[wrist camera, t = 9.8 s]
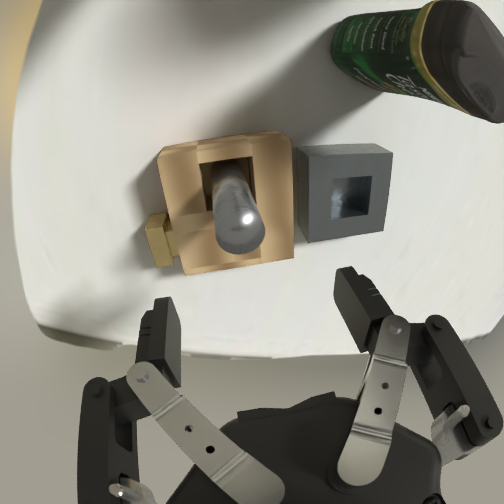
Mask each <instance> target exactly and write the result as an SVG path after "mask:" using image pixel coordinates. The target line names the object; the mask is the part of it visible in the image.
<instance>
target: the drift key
mask: <svg viewBox="0 0 504 504" xmlns="http://www.w3.org/2000/svg"><path fill="white" fill-rule="evenodd" d="M145 233H146V236H147V240H148V243H149V246H150V249H151V252H152V255H153V258H154V261H155V264H156V267H157V268H159V267H165V266H172V265H174V256H179V251H178V248H177V244H176V240H175V236H174V232H173V228H172V225H171V221H170V219H167V215H166V212H165V213H160V214H154V215H149V218H148V221H147V224H146V227H145Z"/></svg>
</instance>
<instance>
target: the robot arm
mask: <svg viewBox="0 0 504 504" xmlns="http://www.w3.org/2000/svg"><path fill="white" fill-rule="evenodd" d="M334 300H335V303H336V305H337V307H338V309H339V311H340V313H341V315H342V317H343V319H344V321H345V323H346V325H347V327H348V329H349V331H350V333H351V335H352V337H353V339H354V341H355V343H356V345H357V347H358V349H359V351H360V353H363V352H366V351H368V352H369V354H370V357H369V360H368V363H367V367H366V370H365V373H364V377H363V380H362V383H361V386H360V389H359V391H358V394H357V396H356V399H355V400H354V399H351V398H346V397H336V396H335V393H334V392H329V393H326V394H322V395H318V396H314V397H311V398H309V399H307V400H305V401H303V402H301V403H299V404H297V405H295V406H292V407H290V408H286V409H281V408H258V409H252V410H246V411H239V412H237V415H238V418H236V419H234V420H232V421H230V422H228V423H226V424H225V425H224V426H222V427H221V428H220V429H218V428H217V427H215V426H214V425H213V424H212V423H211V422H210V421H209V420H208V419H207V418H206V417H205V416H204V415H203V414H202V413H201V412H200V411H199V410H197V409H196V408H195V407H194V406H193V405H192V404H191V403H190V402H189V401H188V400H187V399H186V398H185V397H184V396H183V395H180V394H179V393H178V392H177V391H176V390H175V388H178V387H181V325H180V320H179V317H178V314H177V312H176V309H175V306H174V303H173V301H172V298H171V297H164V298H157V299H155V301H154V308H153V310H149V311H146V313H145V314H144V316H143V317H142V319H141V325H140V331H139V338H138V345H137V353H136V360H135V364H134V365H133V366H132V367H131V368H130V369H129V370H128V372H127V375H126V376H124V377H122V378H119V379H117V380H113V381H111V382H108V381H107V380H106V379H105V378H102V377H96V378H93V379H91V380H90V381H88V383H87V384H86V385H85V387H84V390H83V397H82V405H81V414H80V425H79V438H78V461H77V493H78V504H157V503H156V502H155V499H154V496H153V494H152V491H151V490H150V489H149V488H148V487H147V486H145V485H144V484H141V483H140V481H139V468H138V453H137V424H136V422H137V420H139V419H142V418H144V417H147V416H150V415H152V416H153V417H154V419H155V420H156V421H157V422H158V424H159V425H160V426H161V427H162V428H163V430H164V431H165V432H166V433H167V434H168V435H169V436H170V438H171V439H172V440H173V441H174V442H175V443H176V444H177V445H178V446H179V447H180V448H181V450H182V451H183V452H184V453H185V454H186V455H187V456H188V457H189V458H190V459H191V460H192V461H193V462H194V463H195V464H194V465H193V467H192V468H191V470H190V471H189V472H188V474H187V475H186V477H185V478H184V479H183V481H182V482H181V483H180V485H179V486H178V488H177V489H176V490H175V492H174V493H173V494H172V496H171V497H170V498H169V500H168V501H167V503H166V504H446V503H445V501H444V500H443V498H442V495H441V489H440V475H441V467H442V466H444V465H446V464H448V463H449V462H451V461H453V460H460V459H463V458H464V457H466V456H468V455H469V454H471V453H473V452H474V451H476V450H477V449H479V448H480V447H482V446H483V445H485V444H486V443H488V442H489V441H491V440H492V439H494V438H495V437H496V436H498V435H499V434H500V432H501V430H502V428H503V418H502V415H501V413H500V411H499V409H498V407H497V405H496V403H495V401H494V399H493V397H492V395H491V393H490V391H489V389H488V387H487V385H486V383H485V381H484V379H483V378H482V376H481V374H480V372H479V370H478V369H477V367H476V365H475V364H474V362H473V360H472V358H471V357H470V355H469V353H468V352H467V350H466V348H465V347H464V345H463V343H462V342H461V340H460V339H459V337H458V335H457V334H456V332H455V331H454V329H453V328H452V326H451V325H450V323H449V322H448V320H447V319H446V318H444V317H442V316H440V315H431V316H429V317H428V318H427V319H426V321H425V323H408V321H407V320H406V319H405V318H403V317H401V316H398V315H394V313H393V312H392V310H391V309H390V307H389V306H388V304H387V303H386V301H385V300H384V298H383V297H382V295H381V294H380V292H379V291H378V289H376V287H375V285H374V284H373V282H372V281H371V280H370V279H369V278H367V277H366V276H364V275H363V274H362V275H358V274H357V272H356V271H355V269H354V268H353V267H352V266H350V267H345V268H339V269H337V270H336V276H335V284H334ZM407 366H410V367H411V369H412V371H413V373H414V375H415V378H416V380H417V382H418V384H419V386H420V388H421V391H422V393H423V395H424V397H425V399H426V402H427V404H428V406H429V408H430V411H431V413H432V415H433V418H434V421H433V423H432V426H431V433H432V434H431V437H432V442H431V441H430V440H428V439H426V438H425V437H422V436H421V435H419V434H417V433H415V432H413V431H411V430H409V429H407V428H406V427H404V426H402V425H400V424H398V423H396V422H395V420H396V416H397V412H398V409H399V405H400V400H401V396H402V392H403V387H404V382H405V377H406V372H407Z"/></svg>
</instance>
